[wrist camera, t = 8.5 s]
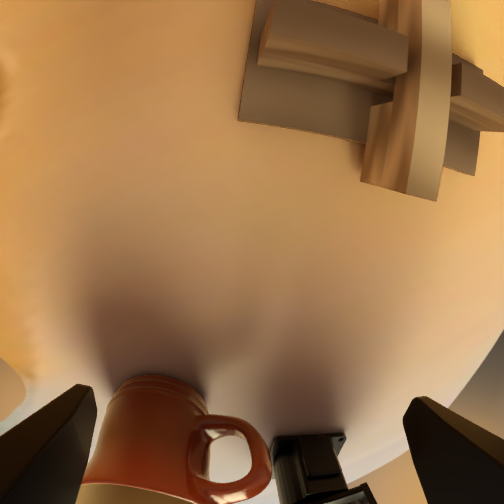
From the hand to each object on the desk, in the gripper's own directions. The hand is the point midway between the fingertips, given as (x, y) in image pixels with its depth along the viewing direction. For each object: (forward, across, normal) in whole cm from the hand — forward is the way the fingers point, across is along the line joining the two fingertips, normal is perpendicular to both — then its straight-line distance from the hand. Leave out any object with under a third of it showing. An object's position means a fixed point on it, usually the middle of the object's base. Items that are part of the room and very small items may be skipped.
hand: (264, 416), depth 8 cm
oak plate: (+11, -7, -12) cm, 18 cm away
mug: (+12, +3, +11) cm, 17 cm away
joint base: (+12, -7, -12) cm, 18 cm away
